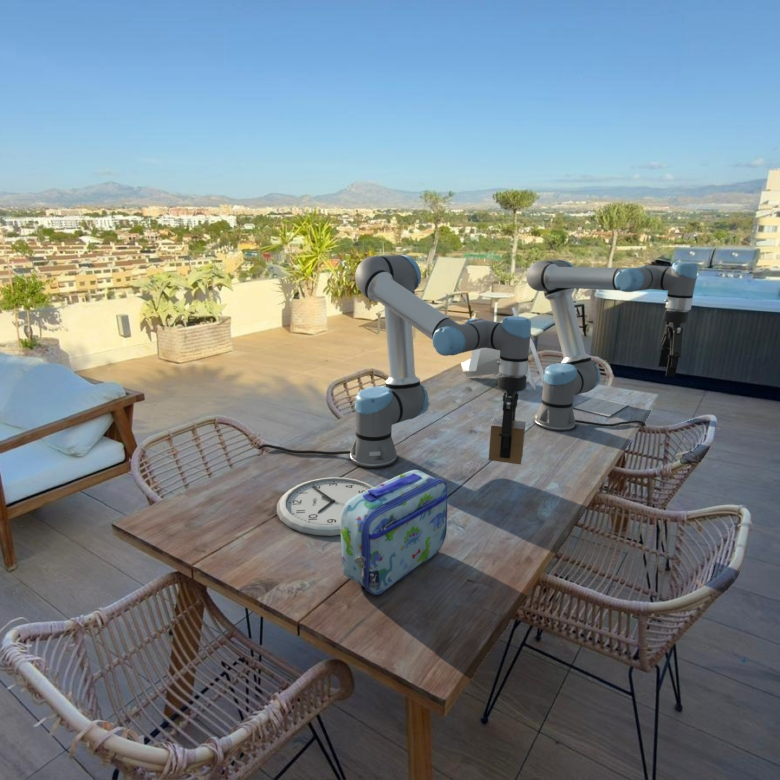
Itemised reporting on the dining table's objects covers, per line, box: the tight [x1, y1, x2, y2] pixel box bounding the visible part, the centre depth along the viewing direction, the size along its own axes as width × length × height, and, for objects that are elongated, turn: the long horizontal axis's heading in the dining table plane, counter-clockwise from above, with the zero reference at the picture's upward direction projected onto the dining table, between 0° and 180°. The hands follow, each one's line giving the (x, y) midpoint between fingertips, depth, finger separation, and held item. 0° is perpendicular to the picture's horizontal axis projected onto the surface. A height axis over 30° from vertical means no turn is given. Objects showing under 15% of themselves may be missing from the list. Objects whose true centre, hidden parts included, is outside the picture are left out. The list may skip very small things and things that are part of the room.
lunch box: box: [340, 469, 448, 596], centre depth 114 cm, size 26×11×21 cm, turn 134°
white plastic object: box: [460, 306, 545, 391], centre depth 259 cm, size 37×45×31 cm
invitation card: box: [573, 396, 629, 418], centre depth 226 cm, size 21×1×15 cm
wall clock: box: [276, 476, 375, 537], centre depth 142 cm, size 30×2×30 cm
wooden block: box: [488, 417, 527, 465], centre depth 148 cm, size 6×9×10 cm
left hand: (506, 452), depth 149 cm, fingers closed on wooden block, 6 cm apart
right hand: (666, 371), depth 181 cm, fingers open, 13 cm apart
